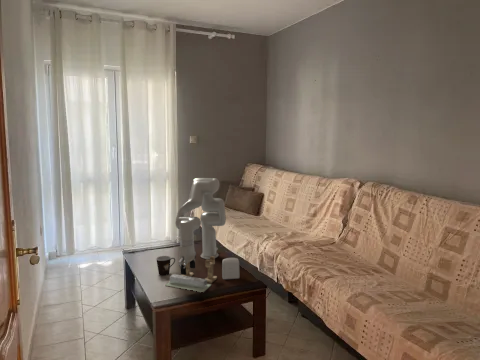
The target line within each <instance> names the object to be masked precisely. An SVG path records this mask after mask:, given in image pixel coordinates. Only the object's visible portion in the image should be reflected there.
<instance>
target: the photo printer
mask: <svg viewBox="0 0 480 360" xmlns="http://www.w3.org/2000/svg"><path fill="white" fill-rule="evenodd" d="M221 268H222V269H221V274H222V276H221V277H222V279H223V280H234V279H235V280H237V279H240V277H241V276H240V261H239V258H237V257H226V258H224V259H222V263H221Z"/></svg>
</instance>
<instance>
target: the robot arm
mask: <svg viewBox="0 0 480 360" xmlns="http://www.w3.org/2000/svg"><path fill="white" fill-rule="evenodd" d="M219 189H220V181H219V179H218V178H216V177H215V178H213V177H196V178H194V179H193V180H192V184H191V188H190V192H189V195H188V200H187V201H185V202H184V204H183V205H181V206H180V208H179V209H178V211H177V213H176V218H175V227H176V229H178V230H179V240H180V241H179V252H178V253H179V254H178V258H179V259H178V260H179V261H178V263H177V264H178V267H179V268H180V275H186V268H185V267H186V264H187V263H189V266H190V269H196V257H197V256H196V255H197V252H196V250H195V240H194V239H195V237H194V232H195V231H196V230H199V228H200V227H201V235H202V236H201V238H202V239H201V241H202V243H201V244H202V245H201V246H202V252H201V254H200V257H201V258H202V259H205V260H206V259H207V260H210V257H211V256H214V257H215V259H216V258H218V257H219V253H218V252H217V251H218V250H219V248H218V246H217V232H216V229H215V227H223V226H225V224H226V220H227V218H226V207H225V206H226V204H225V201H224V199H222V198H220V197H214V194H215V193H216V192H218V191H219ZM197 208H198V209H199V208H201V210H202V211H203V212H202V213H201V214H200V218H199V217H198V216H190V215H189V216H188V215H187V216H185V215H186V214H187V213H188V212H190V211H193V210H195V209H197ZM183 261H184V262H183Z"/></svg>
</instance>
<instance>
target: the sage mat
mask: <svg viewBox="0 0 480 360" xmlns="http://www.w3.org/2000/svg"><path fill="white" fill-rule="evenodd" d="M164 286H165V287H168V286H170V287H169V288H174V287H175V289H179V288H181V289H180V290H185V289H187V290H186V291H190V290H193V291H192V292H196V291H197V293H201V292H203V293H205V292H206V291H207V290H208V289H209V288H211V286H212V283H207V287H206V288H204V289H200V288H195V287H189V286H183V285H177V284H172V283H170V281H169V282H167V283H166V284H165V285H164Z"/></svg>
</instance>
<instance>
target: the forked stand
mask: <svg viewBox="0 0 480 360" xmlns="http://www.w3.org/2000/svg"><path fill="white" fill-rule="evenodd" d="M183 262H184V261H183ZM204 263H205V268H207V277H205V278H204V279H207V283H209V284H212V283H214V282H215V281H216V280H217V279H218V276H217V275H214V265H215V264H216V258H215V257H214V256H211V257H210V259H205V261H204ZM185 268H186V275H183V276H189V277H193V276H194V272H191V270H190V269H191V268H190V262H189V263H187V264H186V267H185Z"/></svg>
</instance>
